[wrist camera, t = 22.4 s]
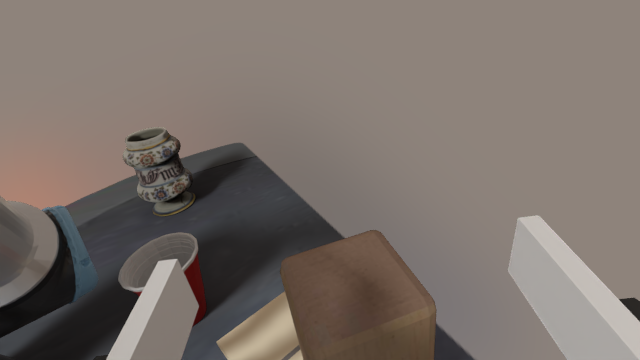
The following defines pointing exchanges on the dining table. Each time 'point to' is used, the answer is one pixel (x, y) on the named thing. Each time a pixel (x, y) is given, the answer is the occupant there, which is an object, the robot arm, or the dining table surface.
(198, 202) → the dining table surface
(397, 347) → the wooden block
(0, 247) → the robot arm
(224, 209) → the dining table surface
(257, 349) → the board
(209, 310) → the dining table surface
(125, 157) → the apothecary jar
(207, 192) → the dining table surface
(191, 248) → the plastic cup
